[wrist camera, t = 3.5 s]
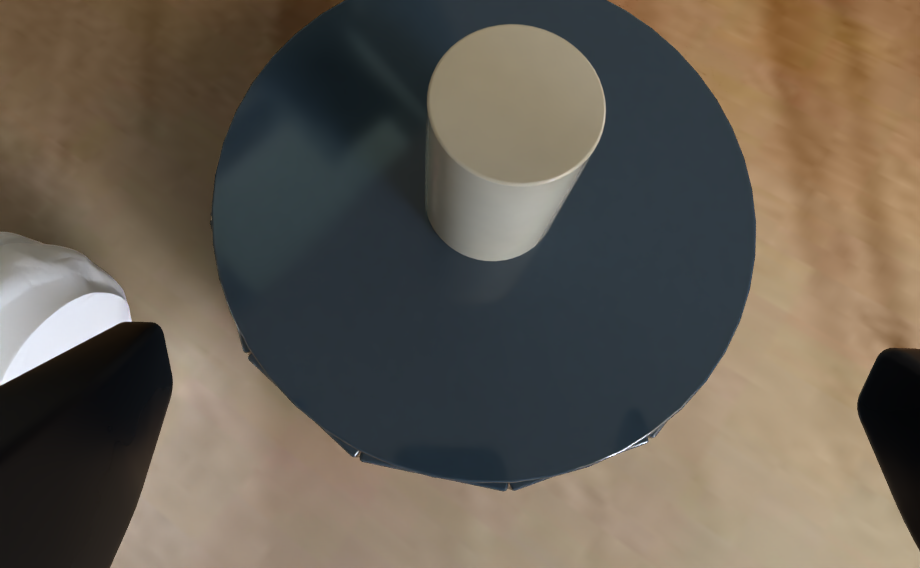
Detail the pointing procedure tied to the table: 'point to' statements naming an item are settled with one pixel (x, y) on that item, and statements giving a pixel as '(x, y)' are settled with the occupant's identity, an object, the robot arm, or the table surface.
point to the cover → (483, 233)
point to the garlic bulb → (50, 302)
